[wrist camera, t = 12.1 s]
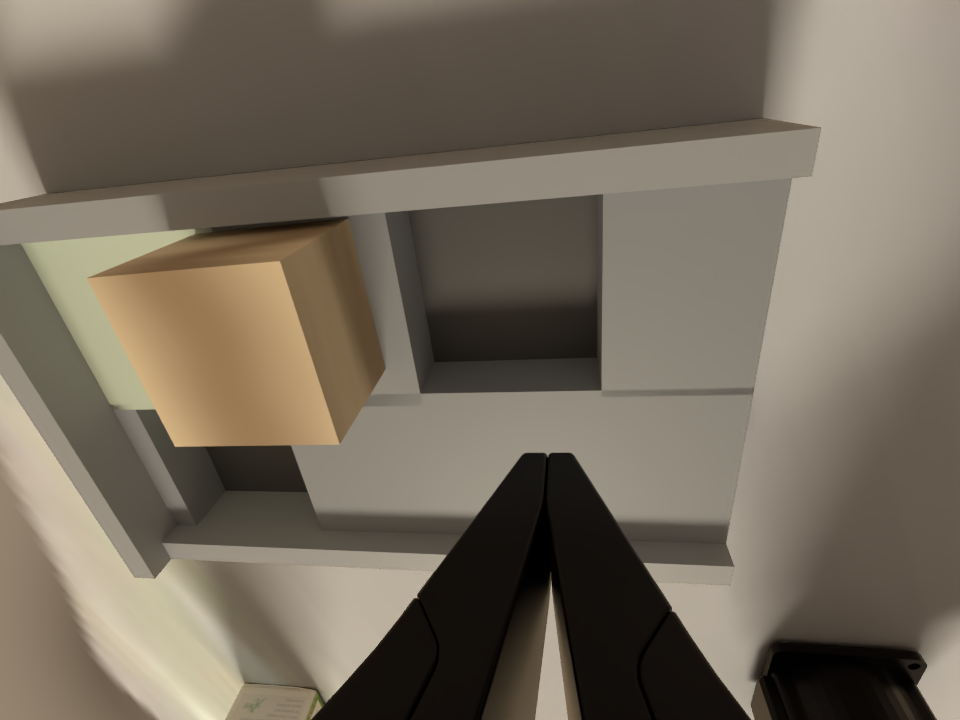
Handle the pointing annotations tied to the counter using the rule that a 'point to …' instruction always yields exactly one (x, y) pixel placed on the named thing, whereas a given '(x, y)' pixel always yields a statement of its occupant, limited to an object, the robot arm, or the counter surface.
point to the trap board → (438, 345)
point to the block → (249, 334)
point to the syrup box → (274, 703)
